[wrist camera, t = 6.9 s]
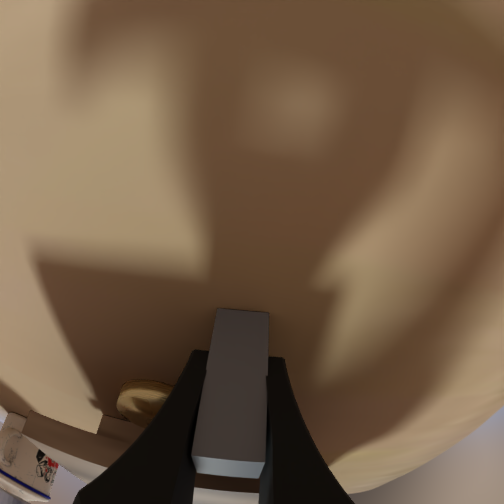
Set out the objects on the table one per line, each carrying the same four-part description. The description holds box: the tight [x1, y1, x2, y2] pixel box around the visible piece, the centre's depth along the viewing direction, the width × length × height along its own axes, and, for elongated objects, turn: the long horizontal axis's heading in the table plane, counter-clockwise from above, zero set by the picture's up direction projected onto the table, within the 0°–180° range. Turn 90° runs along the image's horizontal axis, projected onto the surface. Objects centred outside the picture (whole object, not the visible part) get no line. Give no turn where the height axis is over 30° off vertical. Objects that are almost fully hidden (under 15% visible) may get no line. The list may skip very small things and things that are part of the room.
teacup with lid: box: [0, 413, 59, 502], centre depth 21 cm, size 12×9×12 cm
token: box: [116, 380, 174, 429], centre depth 16 cm, size 5×5×2 cm
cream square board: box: [21, 410, 260, 504], centre depth 15 cm, size 12×14×6 cm
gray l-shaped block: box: [191, 308, 269, 478], centre depth 13 cm, size 12×2×6 cm, turn 176°
